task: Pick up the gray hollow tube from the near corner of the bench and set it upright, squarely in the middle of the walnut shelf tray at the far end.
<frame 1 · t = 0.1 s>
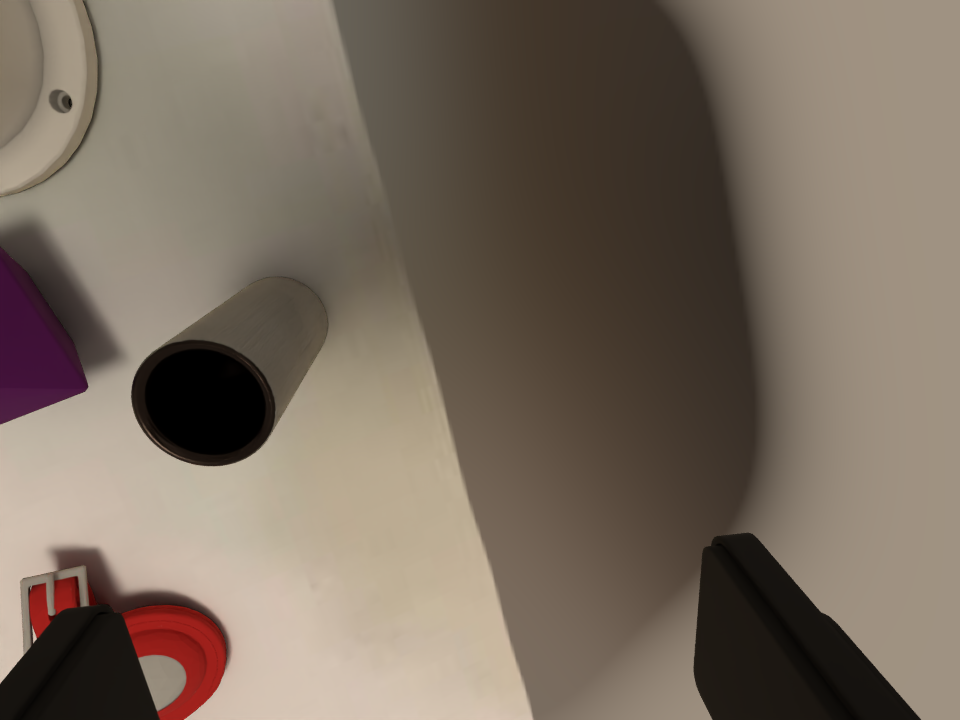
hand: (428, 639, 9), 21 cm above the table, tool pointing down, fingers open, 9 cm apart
gray hollow tube: (282, 320, 28), on the table
perfume bottle: (14, 322, 27), on the table
tracker holder: (140, 625, 34), on the table
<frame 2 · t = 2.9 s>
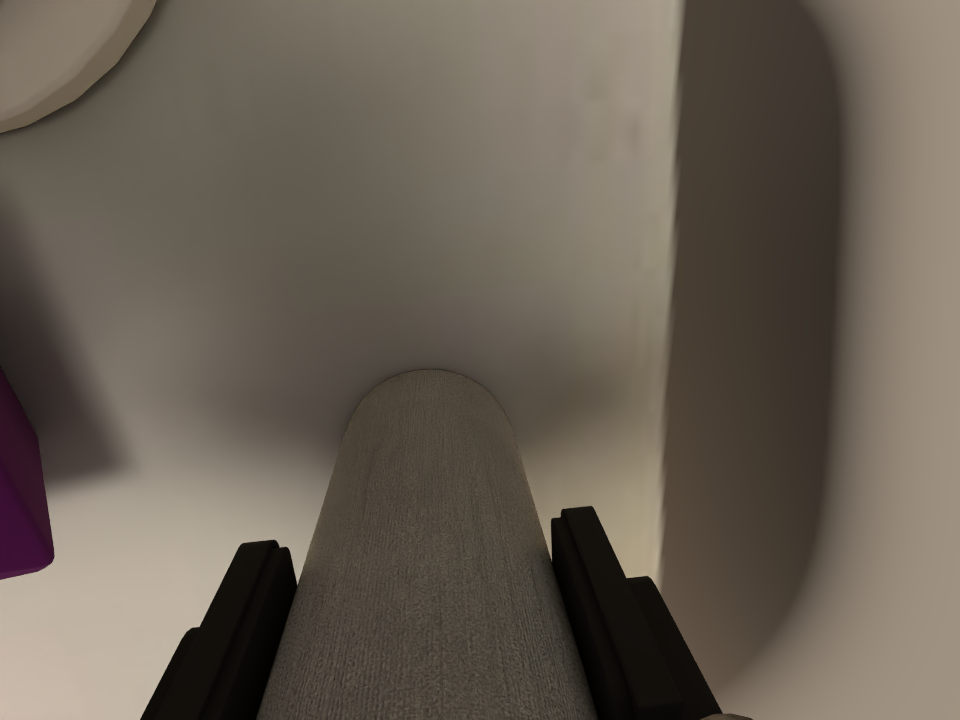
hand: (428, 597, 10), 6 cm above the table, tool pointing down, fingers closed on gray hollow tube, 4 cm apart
gray hollow tube: (429, 441, 16), on the table, touching gripper
when the fingers open (6 cm above the table, at t = 10.6 s): gray hollow tube stays where it is, resting on shelf tray.
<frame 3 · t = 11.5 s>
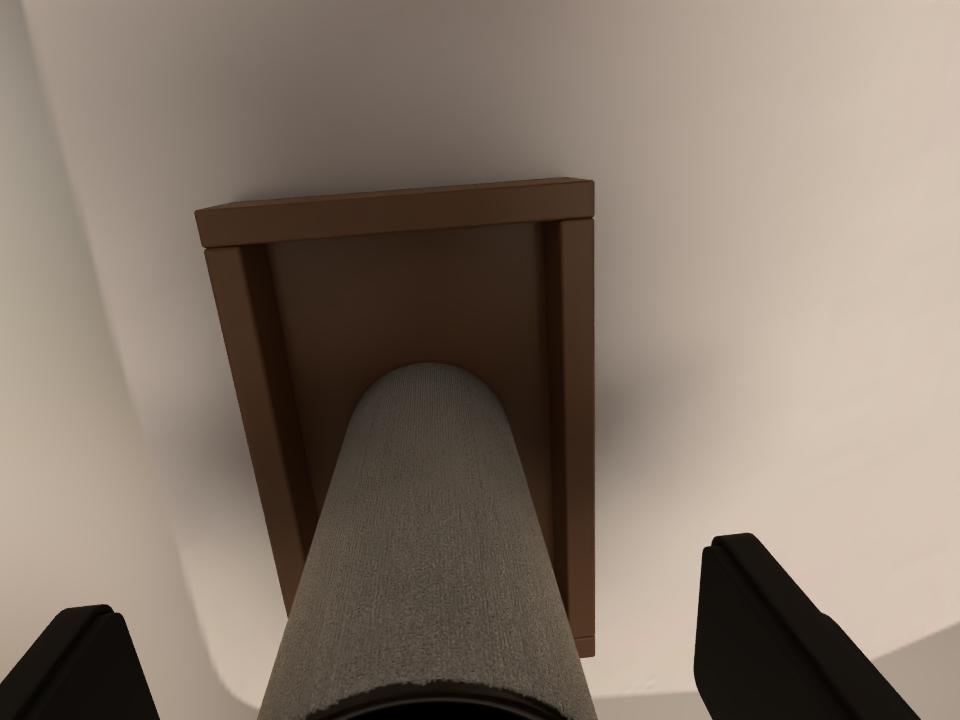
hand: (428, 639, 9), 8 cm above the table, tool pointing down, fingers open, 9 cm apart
gray hollow tube: (429, 431, 17), resting on shelf tray
shelf tray: (429, 427, 17), on the table
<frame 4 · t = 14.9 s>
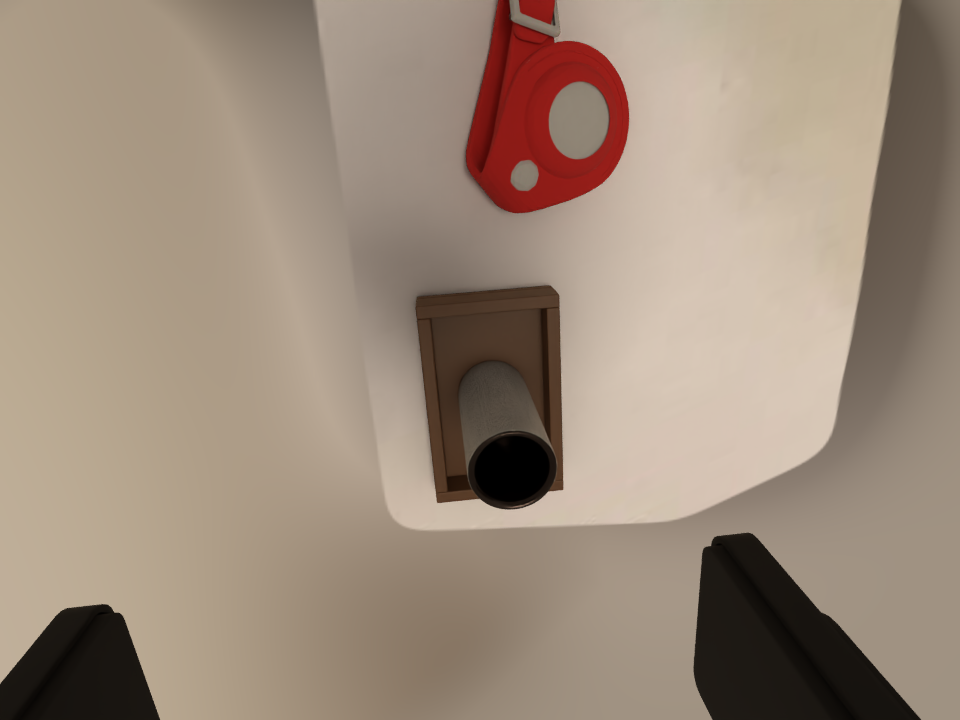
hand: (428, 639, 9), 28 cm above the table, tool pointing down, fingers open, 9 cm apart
gray hollow tube: (491, 390, 38), resting on shelf tray
shelf tray: (490, 389, 39), on the table
tracker holder: (545, 97, 33), on the table
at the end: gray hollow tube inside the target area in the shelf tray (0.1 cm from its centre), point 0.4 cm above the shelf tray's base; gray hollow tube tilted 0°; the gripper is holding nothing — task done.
